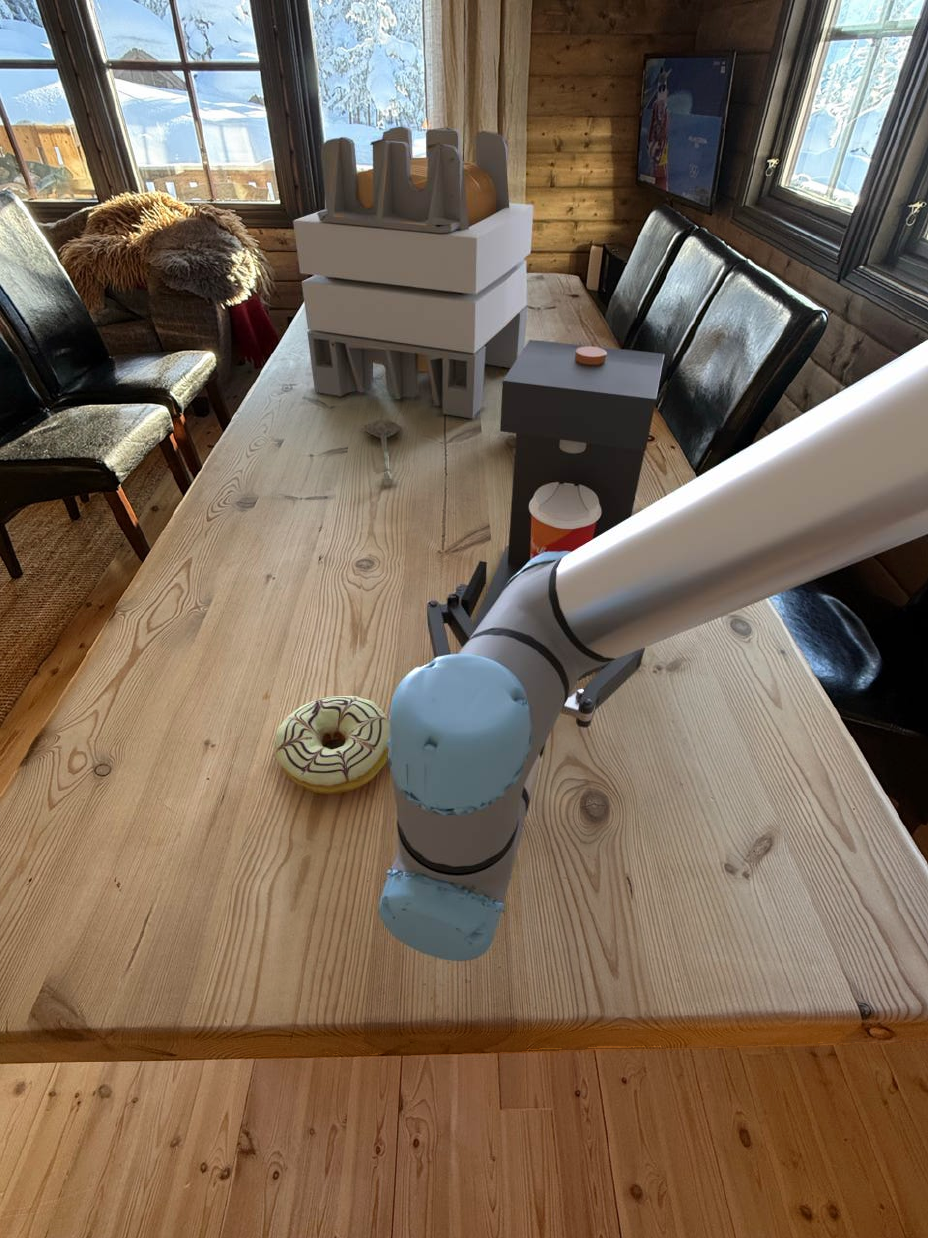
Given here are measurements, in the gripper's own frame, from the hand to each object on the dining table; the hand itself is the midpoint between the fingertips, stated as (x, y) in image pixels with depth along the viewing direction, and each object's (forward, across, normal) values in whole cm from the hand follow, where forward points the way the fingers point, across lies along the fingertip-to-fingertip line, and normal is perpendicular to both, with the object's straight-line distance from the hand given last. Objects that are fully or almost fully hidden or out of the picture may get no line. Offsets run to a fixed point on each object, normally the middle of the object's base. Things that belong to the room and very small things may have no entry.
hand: (548, 583), depth 66 cm
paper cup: (+8, 0, -9) cm, 12 cm away
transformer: (+75, -40, -11) cm, 85 cm away
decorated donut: (-19, -16, -11) cm, 27 cm away
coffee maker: (+8, 0, -10) cm, 13 cm away
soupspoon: (+40, -35, -11) cm, 54 cm away
